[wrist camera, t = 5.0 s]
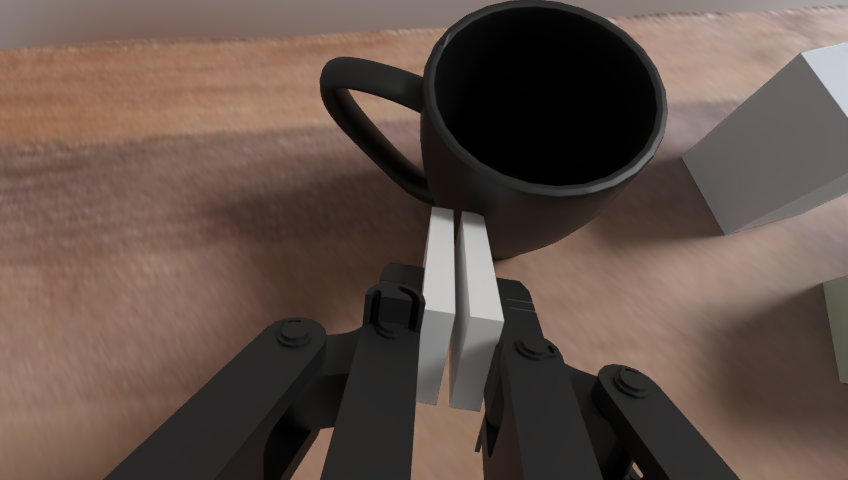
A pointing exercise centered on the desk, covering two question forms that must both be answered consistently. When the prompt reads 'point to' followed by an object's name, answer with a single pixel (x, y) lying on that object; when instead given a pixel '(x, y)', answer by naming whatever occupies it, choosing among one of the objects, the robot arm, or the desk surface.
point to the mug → (515, 119)
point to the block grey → (779, 145)
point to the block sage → (838, 321)
